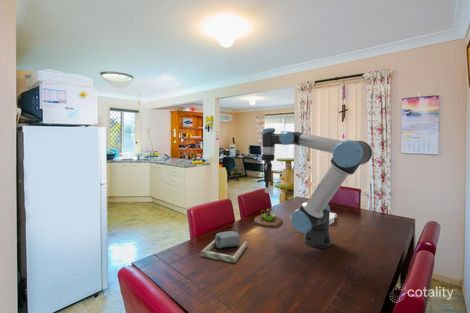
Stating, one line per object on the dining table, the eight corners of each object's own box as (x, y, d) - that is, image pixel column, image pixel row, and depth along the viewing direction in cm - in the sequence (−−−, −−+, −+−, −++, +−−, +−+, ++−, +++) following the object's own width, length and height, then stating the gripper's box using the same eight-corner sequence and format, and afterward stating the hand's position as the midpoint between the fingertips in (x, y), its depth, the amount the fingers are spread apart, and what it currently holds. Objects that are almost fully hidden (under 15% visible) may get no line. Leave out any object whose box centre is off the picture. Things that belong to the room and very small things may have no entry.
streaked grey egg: (215, 246, 126) (218, 226, 131) (212, 247, 135) (215, 229, 139) (240, 251, 128) (242, 231, 133) (235, 252, 137) (238, 233, 141)
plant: (250, 225, 168) (250, 209, 167) (257, 217, 186) (258, 202, 185) (279, 229, 161) (279, 213, 160) (284, 220, 179) (284, 205, 178)
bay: (247, 246, 135) (247, 241, 134) (234, 262, 116) (234, 257, 116) (217, 241, 141) (217, 236, 141) (201, 256, 123) (201, 251, 122)
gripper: (264, 153, 155) (263, 189, 157) (259, 154, 143) (258, 194, 144) (276, 153, 152) (275, 191, 154) (272, 154, 140) (271, 195, 142)
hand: (267, 192), depth 149 cm, fingers closed
